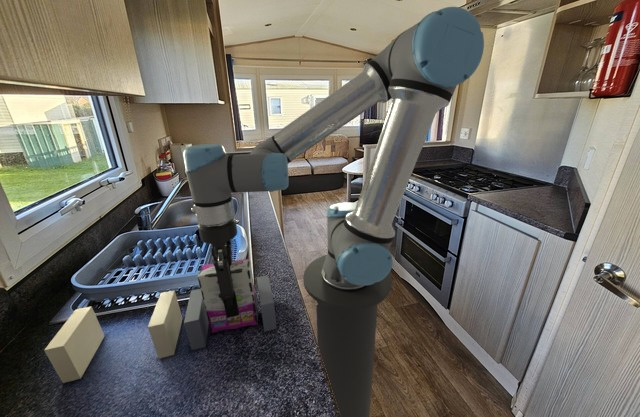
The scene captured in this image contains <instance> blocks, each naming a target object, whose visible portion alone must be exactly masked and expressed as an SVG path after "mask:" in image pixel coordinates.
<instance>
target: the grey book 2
mask: <svg viewBox="0 0 640 417" xmlns="http://www.w3.org/2000/svg"><path fill="white" fill-rule="evenodd" d="M256 282H257V290H258V296H259V303H260V304H259V305H260V311H261V318H262V324H263V325H262V326H263V332H269V331H272V330H277V329H278V328H277V327H278V326H277V319H276V318H277V316H276V310H275V301H274V297H273V292H272V287H271V283H270V276H269V275H268V274H267V275H262V276H257V277H256Z"/></svg>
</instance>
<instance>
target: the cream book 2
mask: <svg viewBox="0 0 640 417" xmlns="http://www.w3.org/2000/svg"><path fill="white" fill-rule="evenodd" d="M182 315H183V314H182V312H181V308H180V304H179V301H178V297H177V293H176V290H173V289H172V290H168V291H164V292H160V294H159V297H158V300H157V302H156V305H155V307H154V309H153V313H152V315H151V316H150V317H151V318H150V320H149V323H148V325H147V330H148V332H149V335H150V337H151V341H152V343H153V347H154V349H155V352H156V354H157V358H158V359H163V358H167V357H171V356H175V353H176V348H177V344H178V339H179V335H180V331H181V326H182V322H183V318H184V317H183V316H182Z"/></svg>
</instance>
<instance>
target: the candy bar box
mask: <svg viewBox="0 0 640 417" xmlns="http://www.w3.org/2000/svg"><path fill="white" fill-rule="evenodd" d="M230 268H231V276H232V282H233V288H234V291H235V294H236V300H237V305H238V311H239V315H238V316H234V317H230V318H227V317H226V312H225V307H224V302H223V300H221V298H219V294H220V289H219V284H218V279H217V274H216V270H215V266H214V264H213V263H208V264H202V265H201V267H200V270H199V273H198V275H197V280H198V281H197V282H198V285H199V289H201V293H202V297H203V301H204V305H205V309H206V313H207V317H208V321H209V323H208V326H209V330H210V333H211V334H213V333H219V332H225V331H232V330H235V329H236V330H237V329H241V328H247V327H252V326H258V325H259V307H258V306H259V305H258V300H257V295H256V288H255V282H254V275H253V269H252V262H251V258H244V259H237V260H236V259H235V260H232V265H231V266H230Z"/></svg>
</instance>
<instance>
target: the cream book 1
mask: <svg viewBox="0 0 640 417" xmlns="http://www.w3.org/2000/svg"><path fill="white" fill-rule="evenodd" d="M105 335H106V334H104V331H103V329H102V326H101V324H100V322H99V320H98V317H97V315H96V313H95V311H94V308H93V306H86V307H81V308H76V309H75V310H74V311H73V312H72V314H71V315H70V317H68V319H67V320H66V321H65V323H64V324H63V325H62V326H61V328H60V329H59V330H58V332H57V333H56V334H55V335H54V336H53V337H52V340H50V342H49V343H48V345H47V346H46V347H45V348H44V350H43V351H44V353H45V355H46V356H47V358H48V360H49V362H50V363H51V365H52V367H53V369H54V370H55V372H56V374H57V376H58V378H59V379H60V381H61V383H62V384H65V383H69V382H73V381H76V380H80V379H82V377H83V376H84V374H85V372H86V370H87V368H88V367H89V365H90V364H91V362H92V359H93V358H94V356H95V354H96V352H97V351H98V349H99V347H100V345H101V344H102V342H103V340H104V338H105Z"/></svg>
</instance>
